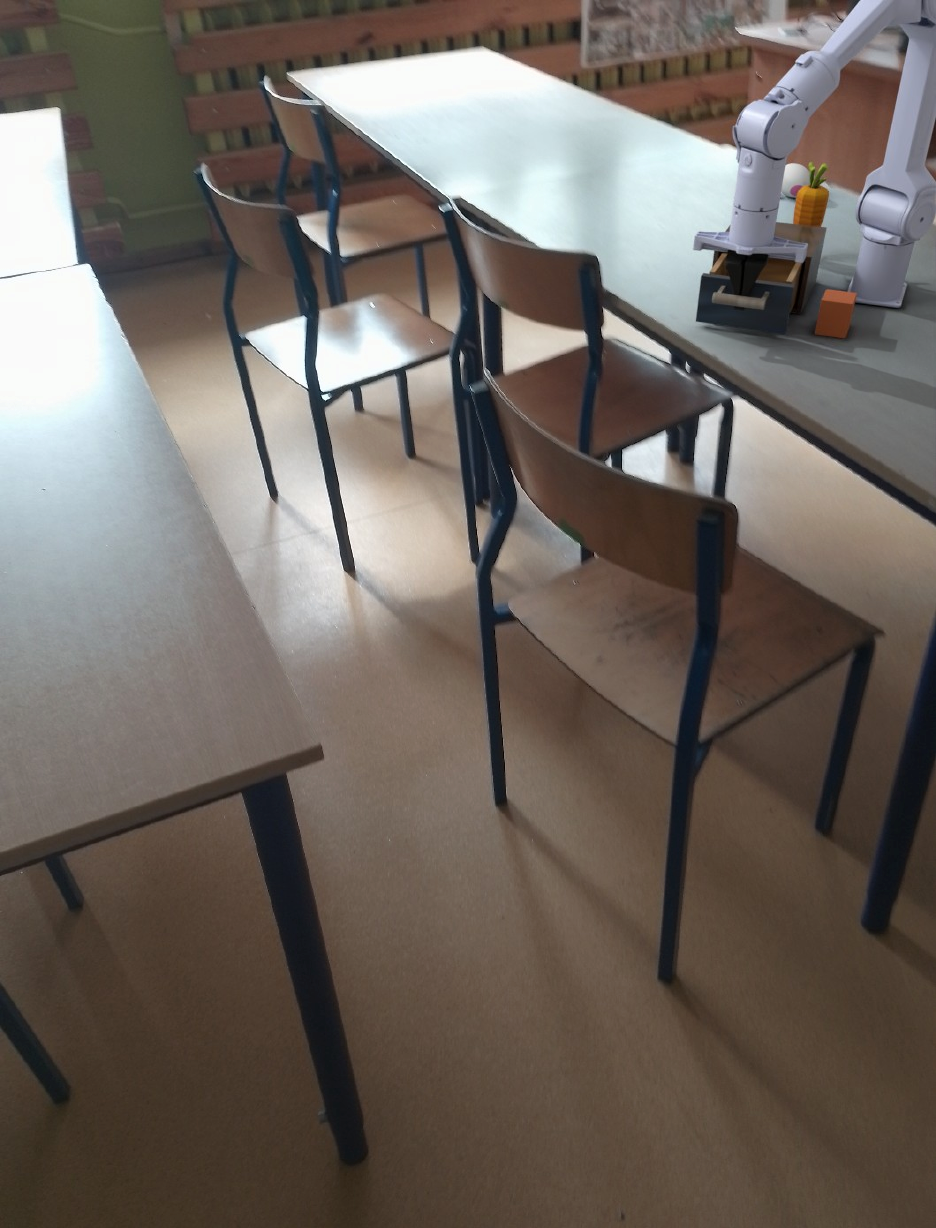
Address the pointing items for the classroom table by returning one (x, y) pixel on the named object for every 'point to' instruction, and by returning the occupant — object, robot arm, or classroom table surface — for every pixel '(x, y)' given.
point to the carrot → (812, 200)
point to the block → (835, 313)
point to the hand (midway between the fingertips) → (740, 307)
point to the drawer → (750, 297)
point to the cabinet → (811, 263)
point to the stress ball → (794, 179)
